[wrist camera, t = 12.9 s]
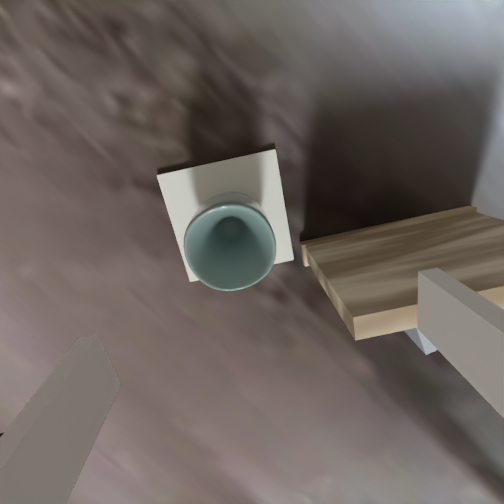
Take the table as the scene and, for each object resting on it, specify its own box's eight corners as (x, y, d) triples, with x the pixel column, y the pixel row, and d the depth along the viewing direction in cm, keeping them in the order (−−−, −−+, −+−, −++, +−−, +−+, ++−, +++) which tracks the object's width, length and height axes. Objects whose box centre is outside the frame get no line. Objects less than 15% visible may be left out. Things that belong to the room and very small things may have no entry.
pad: (157, 174, 32) (156, 175, 31) (274, 149, 32) (275, 149, 31) (190, 279, 36) (190, 281, 36) (293, 257, 36) (293, 259, 36)
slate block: (393, 303, 40) (415, 325, 35) (429, 287, 39) (455, 307, 34) (404, 330, 41) (425, 354, 37) (438, 316, 41) (464, 338, 36)
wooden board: (299, 241, 36) (347, 314, 21) (469, 205, 35) (643, 252, 20) (302, 262, 37) (350, 345, 22) (467, 227, 36) (632, 287, 21)
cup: (185, 199, 32) (166, 223, 23) (252, 175, 32) (259, 189, 23) (212, 260, 35) (204, 303, 26) (273, 239, 35) (288, 274, 25)
